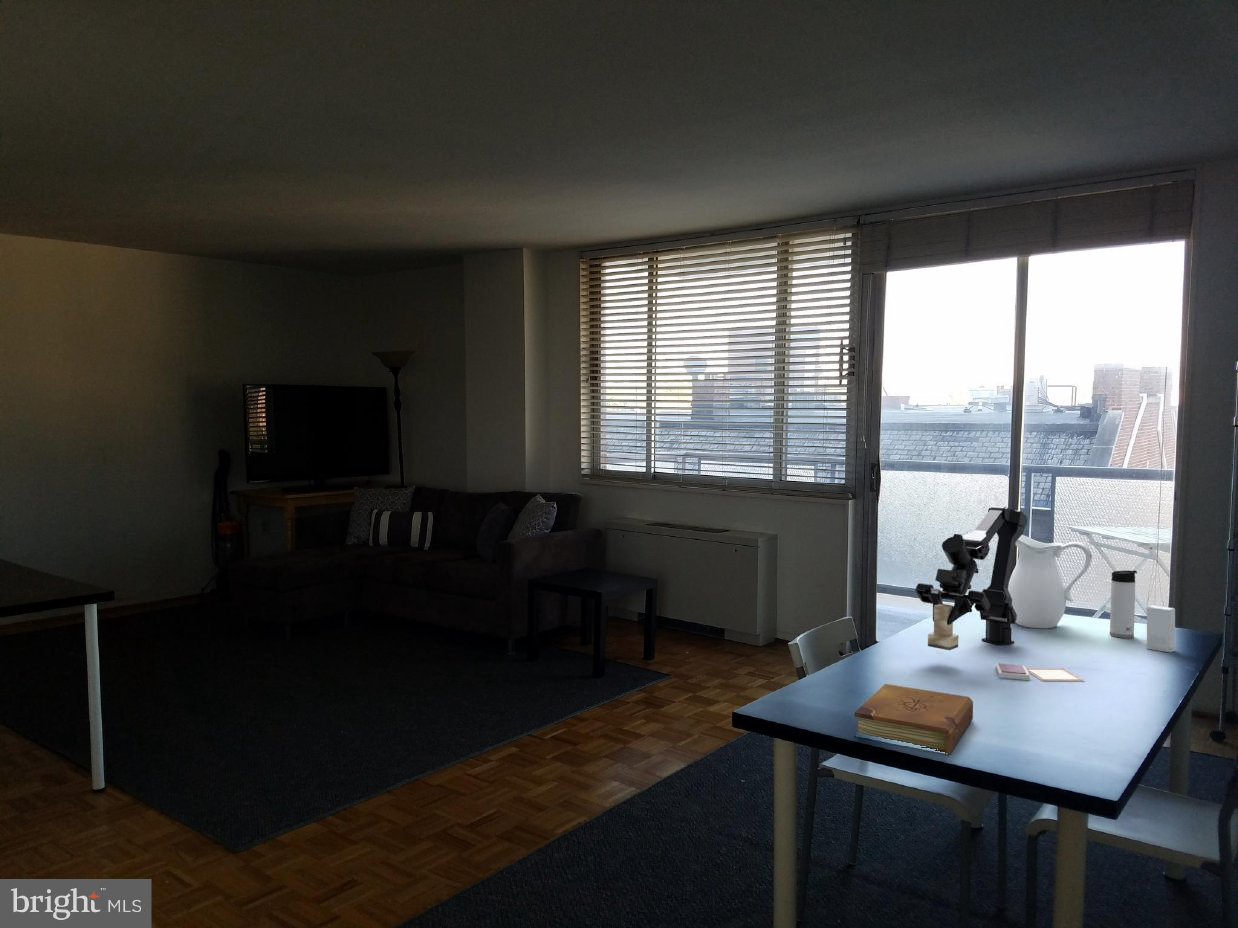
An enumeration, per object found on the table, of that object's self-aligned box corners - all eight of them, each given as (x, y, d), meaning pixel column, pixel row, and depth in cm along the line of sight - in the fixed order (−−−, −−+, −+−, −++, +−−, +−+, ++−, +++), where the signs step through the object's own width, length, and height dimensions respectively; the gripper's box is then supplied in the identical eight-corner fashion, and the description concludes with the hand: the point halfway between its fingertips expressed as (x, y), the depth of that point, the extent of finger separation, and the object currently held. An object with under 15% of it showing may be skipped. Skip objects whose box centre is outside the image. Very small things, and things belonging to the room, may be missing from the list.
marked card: (1023, 669, 226) (1023, 667, 226) (1063, 669, 226) (1063, 667, 226) (1042, 681, 215) (1042, 679, 215) (1084, 681, 215) (1084, 679, 215)
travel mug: (1134, 639, 257) (1136, 572, 256) (1109, 636, 260) (1111, 570, 259) (1135, 635, 262) (1137, 569, 261) (1110, 632, 266) (1112, 567, 265)
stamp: (927, 646, 231) (928, 605, 231) (936, 642, 235) (937, 602, 234) (949, 650, 227) (950, 608, 226) (958, 646, 230) (958, 605, 230)
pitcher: (998, 624, 276) (1000, 537, 274) (1017, 616, 288) (1018, 532, 287) (1081, 637, 259) (1083, 544, 258) (1096, 627, 272) (1099, 539, 270)
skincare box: (1175, 650, 245) (1176, 607, 244) (1169, 653, 242) (1170, 610, 241) (1151, 646, 249) (1152, 604, 249) (1145, 648, 247) (1146, 606, 246)
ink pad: (995, 667, 227) (995, 662, 227) (1024, 670, 225) (1024, 664, 225) (999, 677, 218) (999, 671, 218) (1029, 679, 216) (1029, 674, 216)
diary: (950, 758, 167) (950, 729, 167) (854, 740, 177) (854, 712, 177) (972, 722, 187) (973, 696, 186) (885, 707, 197) (885, 682, 196)
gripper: (918, 553, 239) (897, 599, 232) (986, 561, 225) (965, 610, 218) (932, 578, 245) (912, 623, 238) (998, 587, 231) (979, 635, 224)
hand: (940, 622), depth 229 cm, fingers closed on stamp, 3 cm apart
